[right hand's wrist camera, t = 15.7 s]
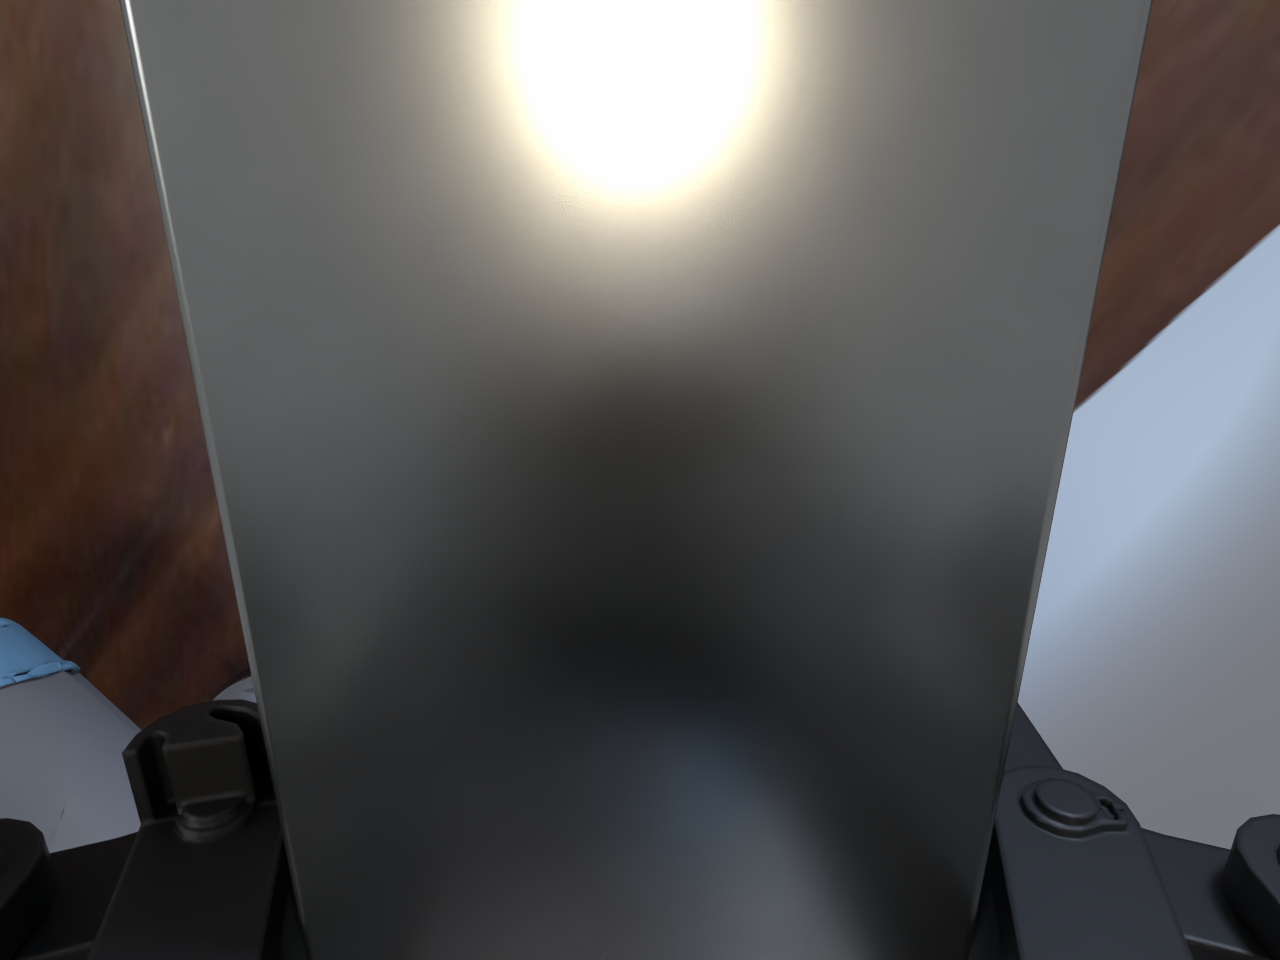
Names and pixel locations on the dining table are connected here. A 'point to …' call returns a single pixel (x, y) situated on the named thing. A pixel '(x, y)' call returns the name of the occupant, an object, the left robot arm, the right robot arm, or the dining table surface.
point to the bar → (636, 444)
